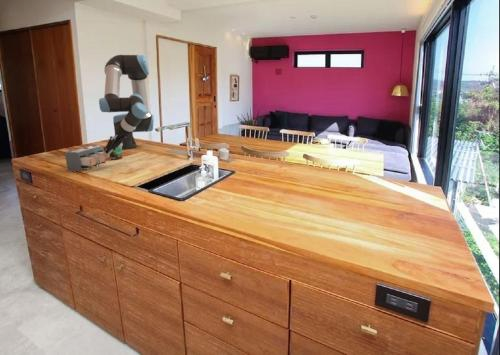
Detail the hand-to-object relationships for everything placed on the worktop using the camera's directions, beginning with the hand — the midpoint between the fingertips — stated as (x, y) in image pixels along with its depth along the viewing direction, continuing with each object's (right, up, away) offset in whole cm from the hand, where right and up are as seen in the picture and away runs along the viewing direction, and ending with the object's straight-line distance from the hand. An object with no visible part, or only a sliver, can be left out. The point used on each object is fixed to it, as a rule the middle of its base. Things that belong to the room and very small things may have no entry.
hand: (104, 155), depth 186 cm
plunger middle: (-2, -4, -5) cm, 7 cm away
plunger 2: (-5, -1, +2) cm, 5 cm away
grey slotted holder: (-9, -6, -2) cm, 11 cm away
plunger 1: (-4, -5, -11) cm, 13 cm away
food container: (+2, -1, +15) cm, 16 cm away
